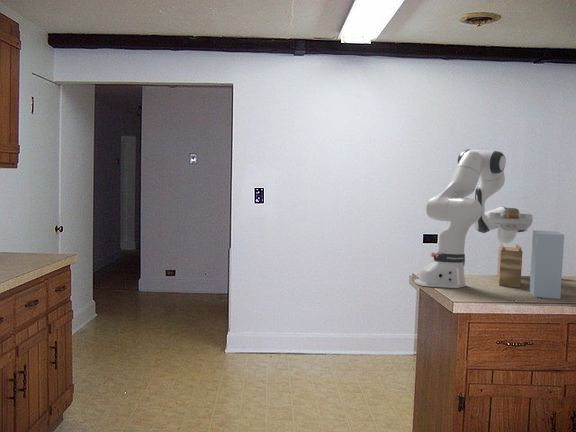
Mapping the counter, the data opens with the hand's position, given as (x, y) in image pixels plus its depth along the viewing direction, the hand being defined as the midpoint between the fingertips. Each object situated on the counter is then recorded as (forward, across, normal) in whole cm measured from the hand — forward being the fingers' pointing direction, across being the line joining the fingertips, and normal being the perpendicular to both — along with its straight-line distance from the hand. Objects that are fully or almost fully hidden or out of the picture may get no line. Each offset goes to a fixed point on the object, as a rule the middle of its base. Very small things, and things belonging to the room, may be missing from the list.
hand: (511, 211), depth 282 cm
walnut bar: (+4, 0, +5) cm, 7 cm away
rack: (-9, 0, +33) cm, 34 cm away
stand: (+10, +12, +44) cm, 47 cm away
